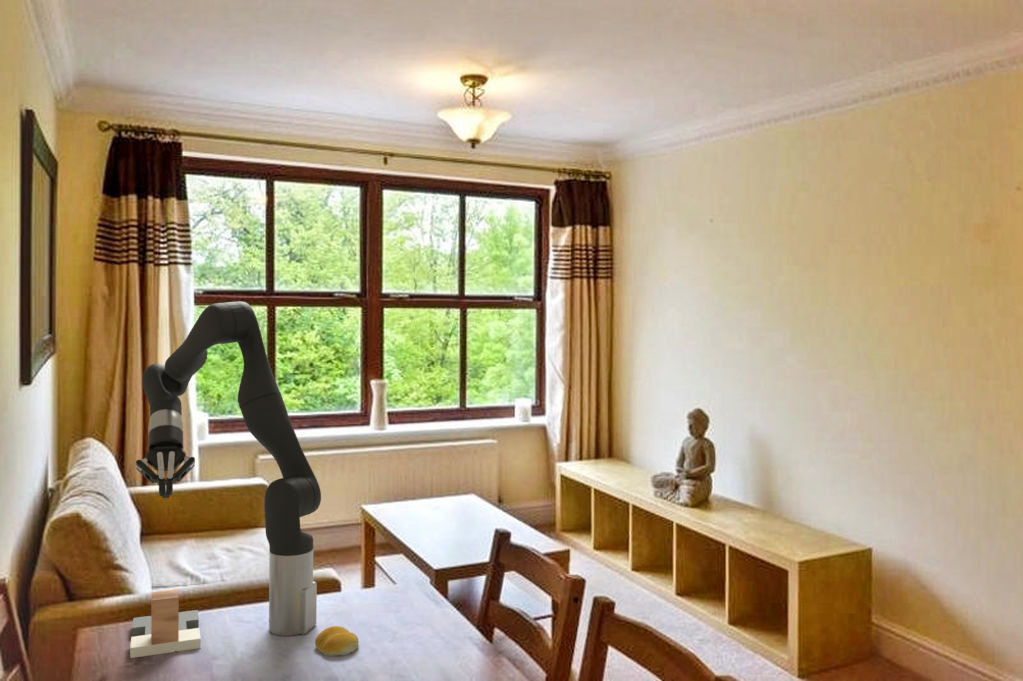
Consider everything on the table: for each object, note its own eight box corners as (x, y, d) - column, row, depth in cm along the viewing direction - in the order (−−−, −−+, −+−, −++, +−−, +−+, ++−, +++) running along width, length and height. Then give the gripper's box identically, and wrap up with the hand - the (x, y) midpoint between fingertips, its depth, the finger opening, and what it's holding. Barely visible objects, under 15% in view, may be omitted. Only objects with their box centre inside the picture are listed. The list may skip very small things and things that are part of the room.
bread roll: (330, 661, 158) (330, 641, 158) (309, 647, 165) (309, 628, 165) (367, 650, 164) (367, 631, 164) (345, 636, 170) (345, 618, 170)
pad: (131, 646, 163) (131, 636, 163) (199, 637, 169) (199, 627, 169) (130, 658, 158) (130, 648, 158) (200, 648, 163) (200, 638, 163)
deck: (133, 627, 174) (133, 617, 173) (197, 618, 179) (197, 609, 179) (131, 646, 163) (131, 636, 163) (199, 637, 169) (199, 627, 169)
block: (151, 635, 164) (151, 592, 164) (178, 632, 166) (178, 589, 166) (151, 644, 160) (151, 600, 159) (178, 641, 161) (178, 597, 161)
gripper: (134, 424, 183) (132, 488, 172) (196, 422, 188) (198, 484, 177) (135, 444, 188) (133, 507, 177) (195, 441, 193) (197, 503, 182)
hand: (165, 496), depth 177 cm, fingers closed
